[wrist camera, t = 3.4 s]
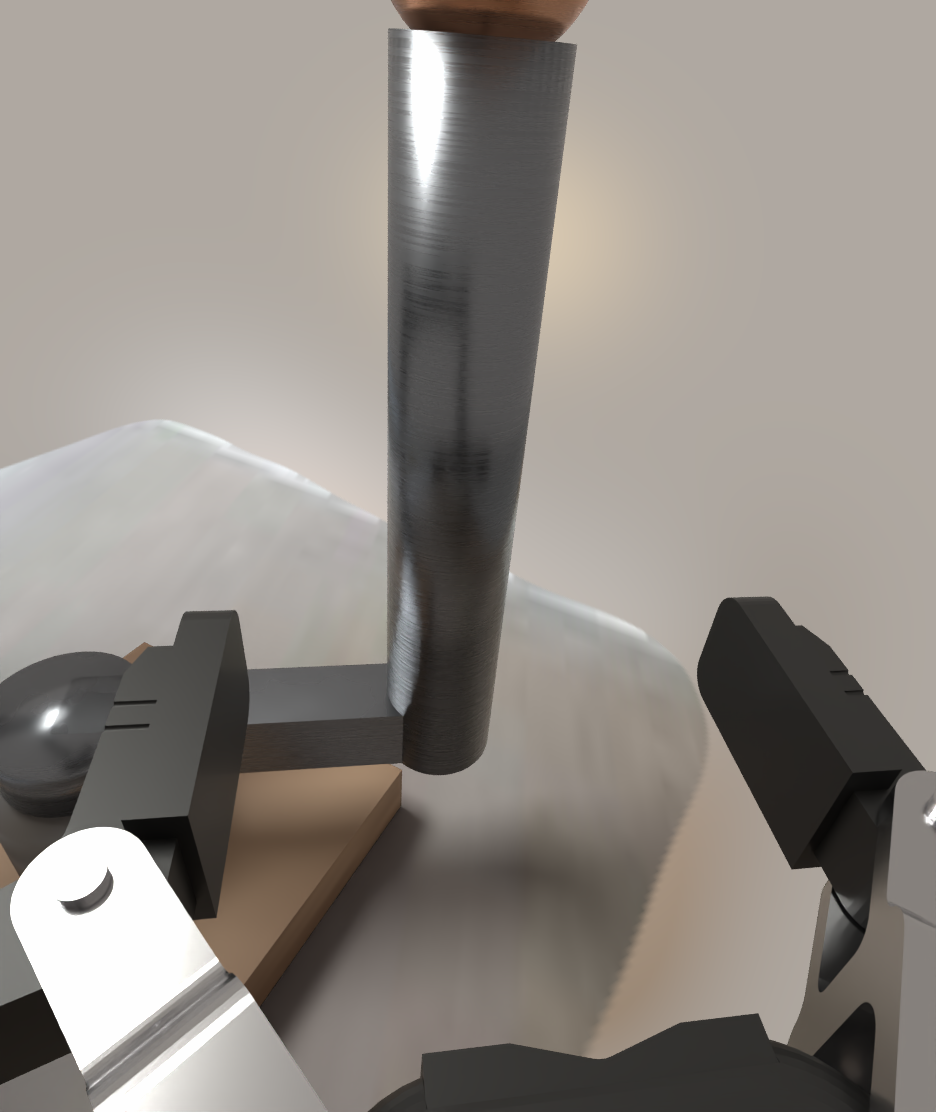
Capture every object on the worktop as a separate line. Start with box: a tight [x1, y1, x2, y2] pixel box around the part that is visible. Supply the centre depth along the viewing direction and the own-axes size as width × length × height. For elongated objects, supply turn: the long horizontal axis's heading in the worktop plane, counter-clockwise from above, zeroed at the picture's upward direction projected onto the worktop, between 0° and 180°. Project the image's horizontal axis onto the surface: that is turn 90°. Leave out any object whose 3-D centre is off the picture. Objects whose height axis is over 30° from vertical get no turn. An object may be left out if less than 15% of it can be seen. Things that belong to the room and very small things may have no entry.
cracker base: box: [0, 642, 402, 1007], centre depth 22 cm, size 12×10×5 cm
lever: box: [0, 0, 588, 818], centre depth 14 cm, size 14×4×20 cm, turn 97°
